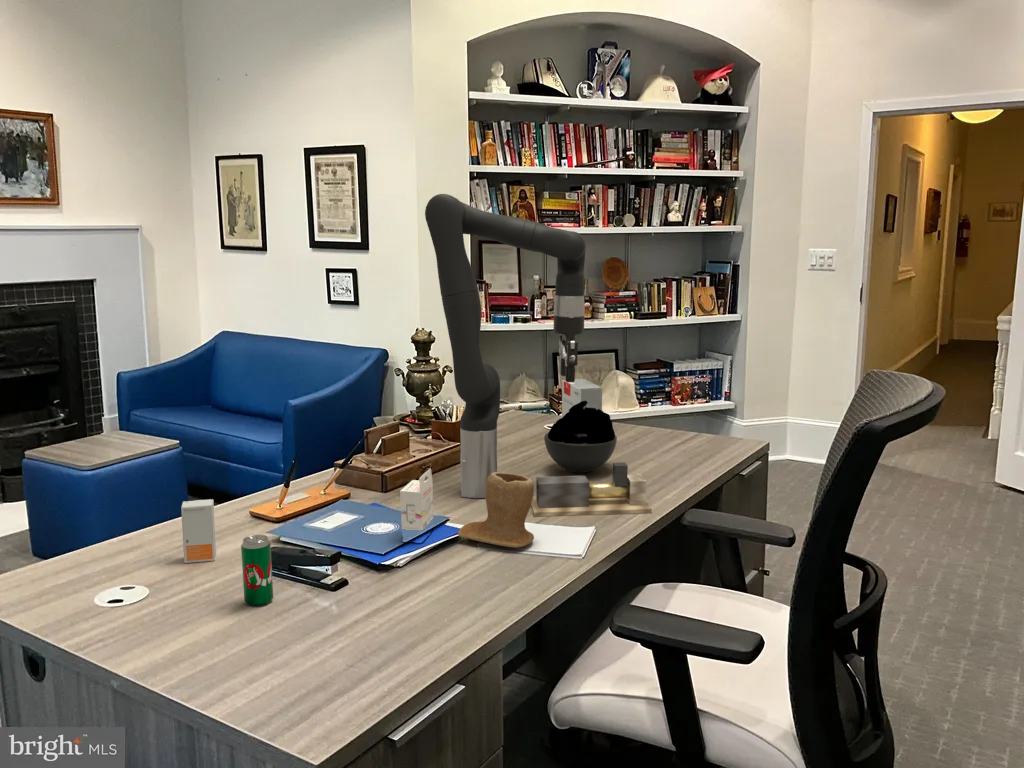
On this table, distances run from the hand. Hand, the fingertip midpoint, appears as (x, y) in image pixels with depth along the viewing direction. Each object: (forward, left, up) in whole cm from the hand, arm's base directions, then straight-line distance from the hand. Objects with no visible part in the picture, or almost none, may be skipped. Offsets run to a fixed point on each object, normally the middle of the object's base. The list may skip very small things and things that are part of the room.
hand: (567, 378), depth 214 cm
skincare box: (-81, -37, -30) cm, 94 cm away
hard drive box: (+12, +48, -30) cm, 58 cm away
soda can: (-65, -59, -30) cm, 93 cm away
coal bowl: (+7, +20, -30) cm, 37 cm away
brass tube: (+8, -11, -28) cm, 31 cm away
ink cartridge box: (-37, -28, -30) cm, 55 cm away
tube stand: (+4, -11, -30) cm, 32 cm away
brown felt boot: (-19, -32, -30) cm, 48 cm away
